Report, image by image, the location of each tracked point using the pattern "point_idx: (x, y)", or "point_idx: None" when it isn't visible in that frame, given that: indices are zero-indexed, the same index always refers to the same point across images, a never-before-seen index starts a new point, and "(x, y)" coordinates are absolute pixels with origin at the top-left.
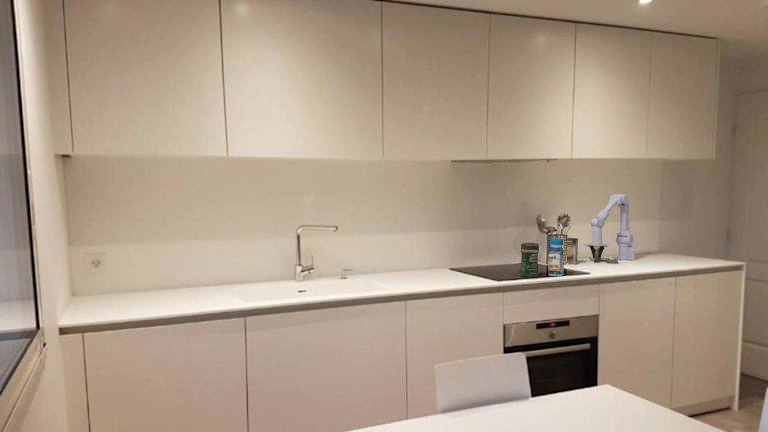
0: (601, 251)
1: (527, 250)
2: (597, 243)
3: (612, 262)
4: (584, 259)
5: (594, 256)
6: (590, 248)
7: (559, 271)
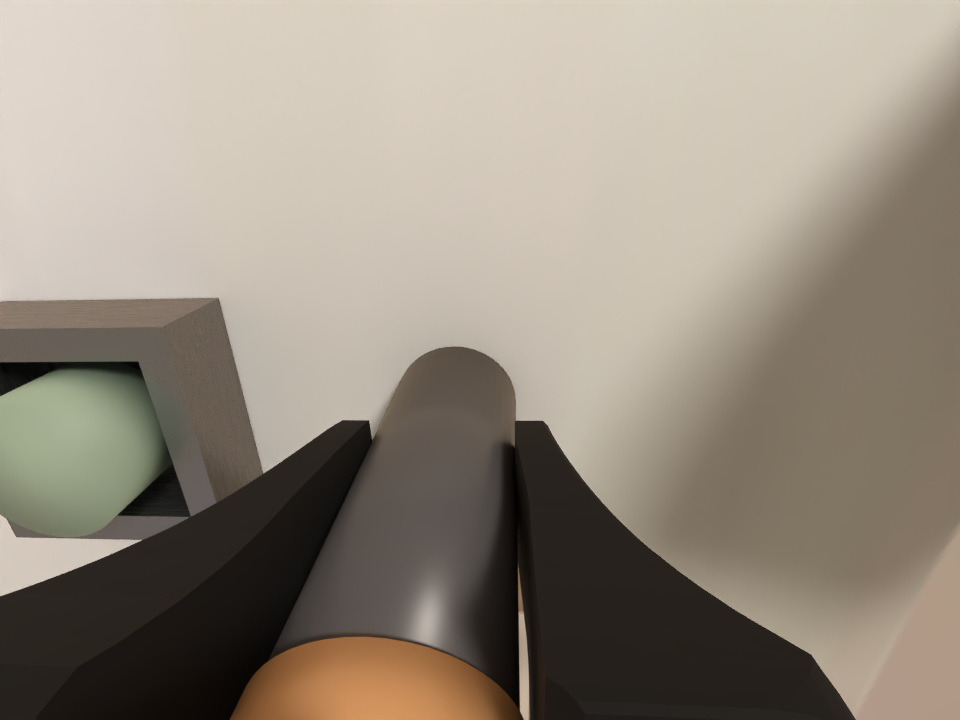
0: (181, 546)
1: None
2: None
3: (85, 307)
4: None
5: (505, 460)
6: (829, 688)
7: None
